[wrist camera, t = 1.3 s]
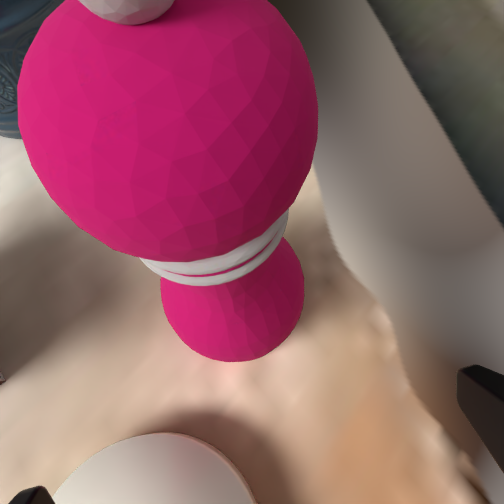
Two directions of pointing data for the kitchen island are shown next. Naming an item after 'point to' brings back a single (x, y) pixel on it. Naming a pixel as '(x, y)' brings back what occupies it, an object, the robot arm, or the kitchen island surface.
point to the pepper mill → (181, 152)
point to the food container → (2, 378)
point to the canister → (17, 52)
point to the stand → (156, 474)
